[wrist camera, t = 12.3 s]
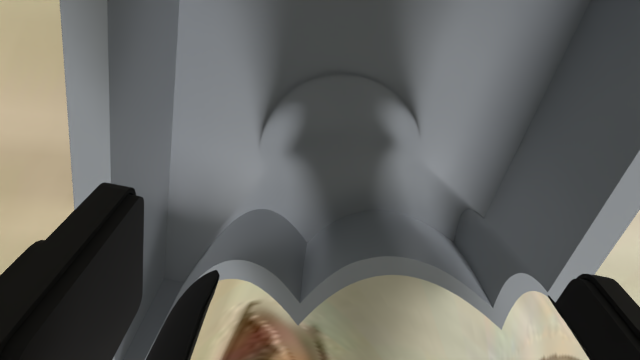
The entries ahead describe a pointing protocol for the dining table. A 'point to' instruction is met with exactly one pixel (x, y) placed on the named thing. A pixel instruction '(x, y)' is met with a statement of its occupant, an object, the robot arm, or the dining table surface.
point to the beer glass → (358, 252)
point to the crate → (376, 64)
